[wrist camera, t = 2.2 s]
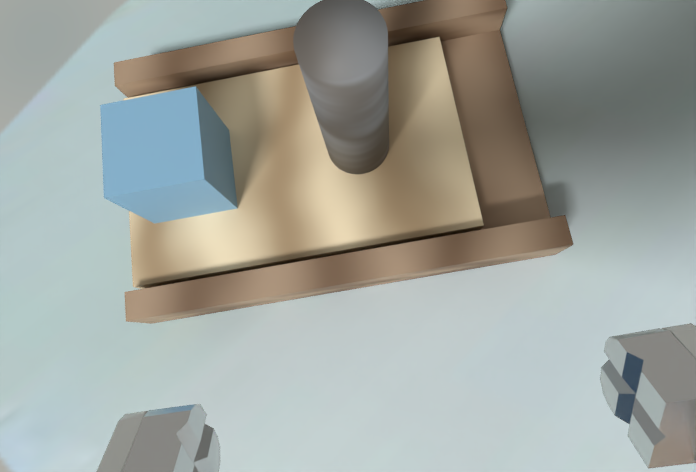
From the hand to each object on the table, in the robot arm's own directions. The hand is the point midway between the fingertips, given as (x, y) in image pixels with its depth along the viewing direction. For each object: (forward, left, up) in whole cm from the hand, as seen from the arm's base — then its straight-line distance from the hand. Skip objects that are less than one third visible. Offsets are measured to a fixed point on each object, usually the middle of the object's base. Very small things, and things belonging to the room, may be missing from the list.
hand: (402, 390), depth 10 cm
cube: (+15, -6, -16) cm, 22 cm away
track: (+8, -10, -17) cm, 21 cm away
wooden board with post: (+10, -9, -17) cm, 21 cm away
